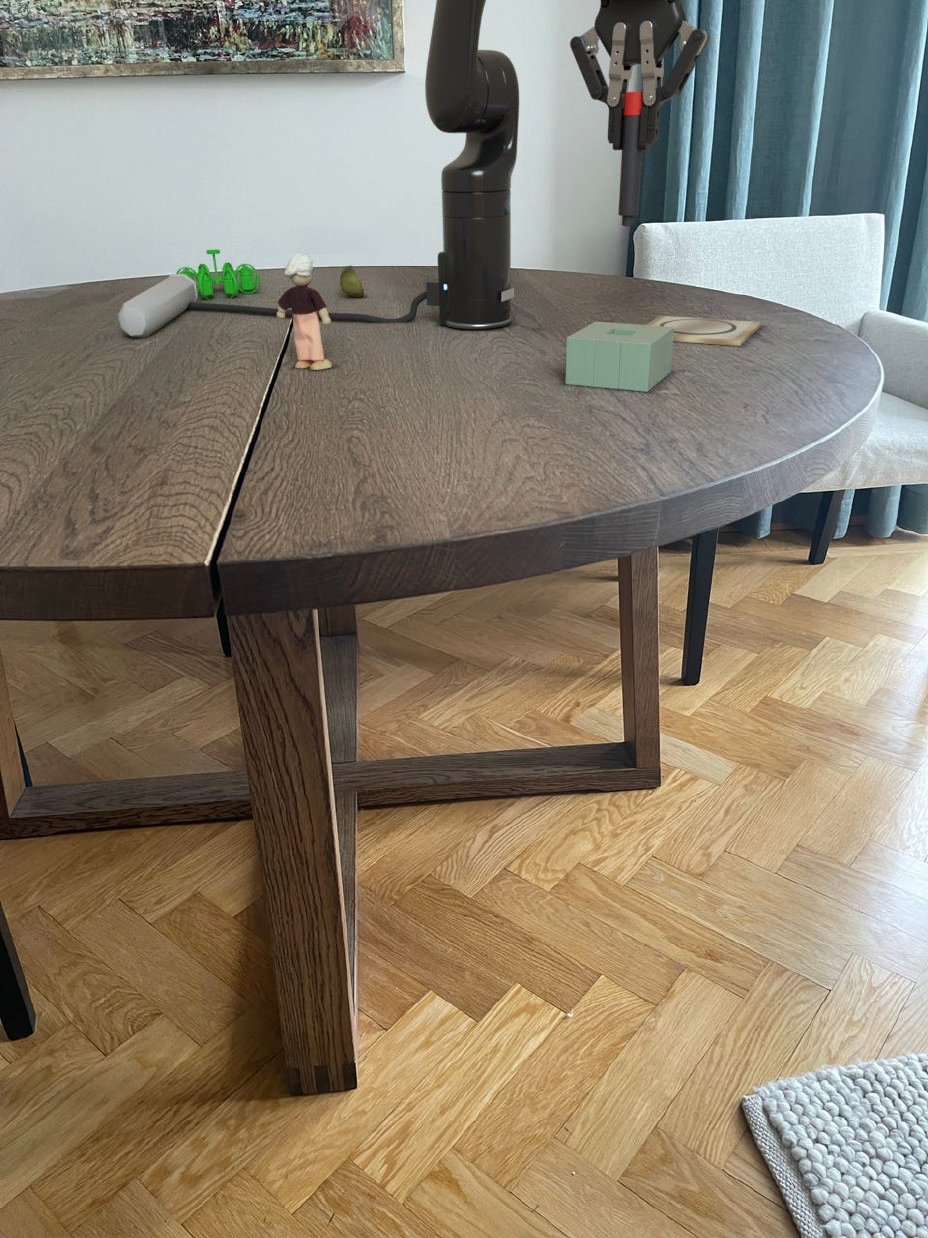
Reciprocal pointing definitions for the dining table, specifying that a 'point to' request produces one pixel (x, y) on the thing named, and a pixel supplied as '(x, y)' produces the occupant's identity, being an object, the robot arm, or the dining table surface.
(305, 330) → the grandmother figurine
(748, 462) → the dining table surface
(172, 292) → the tube
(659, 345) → the pen stand
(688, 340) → the square wooden coaster
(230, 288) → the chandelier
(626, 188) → the marker
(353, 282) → the lime
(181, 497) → the dining table surface
